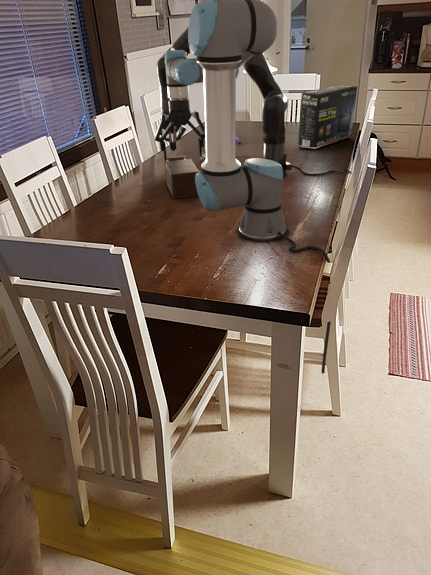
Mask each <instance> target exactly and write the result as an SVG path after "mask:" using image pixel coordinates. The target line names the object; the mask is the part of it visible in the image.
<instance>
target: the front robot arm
mask: <svg viewBox="0 0 431 575" xmlns="http://www.w3.org/2000/svg"><path fill="white" fill-rule="evenodd" d="M188 27H189V28H188ZM188 27H187V28H188V43H189V49H190V52H191V53H190V54H191V55H193V56H196V57H191V58H188V56H186V52H185V51H184V50H172V51H168V50H166V51H165V52H164V54H165V66H166V77H167V88H168V98H169V101H168V102H169V114H163V113H162V114H161V113H160V121H159V124H158V126H157V129H156V132H155V135H154V137H153V139H154V141H155V142H159V150H160V151H161V152H162V153H163V161H164V160H167V158H168V157H167V156H168V155H167V146H166V141H165V138H166V137H167V138H168V134H169V132H170V131H171V129H172V128H173V127H174V126H175V125H176V126H180V125H182V126H183V127H185V126H187V125H188V127H190V128H191V130H192V131H194V132H195V134H196V135H197V136H198V138H197V148H198V149H197V150H198V156H199V158H200V157H202V152H203V151H202V150H203V149H202V148H204V147H205V151H206V160H205V161H203V162H202V163H201V166H200V167H201V168H200V170H201V171H199V172H198V173H196V175H195V176H196V177H195V183H196V188H197V192H198V196H197V197H198V198H199V201H200V203H201V205H202V206H203V208H204V209H205V210H207V211H222V210H226V209H231V208H238V207H244V211H243V213H242V216H241V220H240V221H239V223H238V232H239V235H240V236H241V237H242V238H244V239H247V240H250V241H254V242H271V241H277V240H279V239H281V238H283V239H284V240H285V241H287V242H288V243H290V244H291V246H290V247H289V249H288V250H289V251H290V252H291V253H300V252H303V251H306V250H313V251H314V250H315V251H319V252H320V253H321V254H322V255H323V258H324V259H325V261H326V263H328V264H331V259H330V258H329V255H328V254H327V253H326V251H325V250H324V249H323V248H321V247H319V246H317V245H305V246H302V247H300V248H296V246H297V243H296V242H295V241H294V240H293V239H291V238H290V237H288V236H286V234H287V223H286V221H285V216H284V214H283V210H282V200H283V183H284V175H283V169H282V166H281V165H280V164H279V163H277V162H275V161H272V160H267V159H263V158H259V157H258V158H257V157H256V158H255V157H253V158H248V159H245V160H244V163H243V165H242V163H241V162H240V161H239V160H238V159H237V155H236V150H237V149H236V148H237V141H236V137H237V136H236V134H237V129H236V128H237V127H236V126H237V122H236V120H237V119H236V118H237V113H236V112H237V110H236V109H237V104H236V102H237V100H236V99H237V97H236V96H237V95H236V94H237V93H236V92H237V89H236V88H237V84H236V83H237V82H236V81H237V79H238V76H239V73H240V68H241V67H243V66H242V65H243V64H245V63H246V62H247V61H248V60H249V59H251V58H252V57H253V56H254V55H258V54H261V53H263V54H264V53H265V52H266V51H268V49H270V48H271V47H272V45H273V44H274V43H275V41H276V39H277V37H278V32H279V31H278V30H279V24H278V19H277V16H276V14H275V12H274V11H273V9H272V8H271V7H270V6H269V5H268V4H267V3H265V2H264V1H262V0H203V1H199V2H197V3H196V4H194V6H193V7H192V10H191V14H190V15H189V21H188ZM201 83H203V105H204V124H203V122H202V120H201V118H200V114H199V111H198V110H194V111H192V112H191V107H190V106H191V105H190V104H191V103H190V98H189V97H190V90H189V86H192V85H194V84H201ZM192 117H193V118H194V119H195V121H196V123H197V124H198V126H199V128H200V130H201V131H202V132H200V131H199V129H198V128H197V127H196V126H195V125H194V124H193V123H192V122H191V121H190V120H191V118H192ZM167 118H169V119H170V120H171V122H170V123H169V125H168V127H167V128H166V130H165V131H164V130H163V134H162V136H161V135H160V134H161V131H162V128H163V126H164V123H165V121H166V120H167ZM330 330H331V320H330V321H327V323H326V331H325V337H324V345H323V354H322V362H321V363H322V364H321V374H325V372H326V371H325V370H326V360H327V352H328V346H329V338H330V332H331V331H330Z"/></svg>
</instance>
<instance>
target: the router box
mask: <svg viewBox="0 0 431 575" xmlns="http://www.w3.org/2000/svg"><path fill="white" fill-rule="evenodd" d="M357 93H358V86H356V85H350V84H339V85H338V84H337V85H334V86H328V87H324V88H318V89H314V90H309V91H304V92H301V93H300V109H299V110H300V111H299V124H298V137H297V146H298V145H302V146H307V147H317V146H320V145H323V144H325V143H328V142H331V141H333V140H336V139H338V138H341V137H344V136H347V135H351V136H352V133H353V132H352V131H353V125H354V115H355V109H356V99H357ZM311 151H313V150H312V149H311Z"/></svg>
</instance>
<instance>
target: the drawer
mask: <svg viewBox="0 0 431 575" xmlns="http://www.w3.org/2000/svg"><path fill="white" fill-rule="evenodd" d="M186 159H187V155H179V156H169V157H167V160H164V159H163V163H164V175H165V177H166V167H165V161H176V160H186Z"/></svg>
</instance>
